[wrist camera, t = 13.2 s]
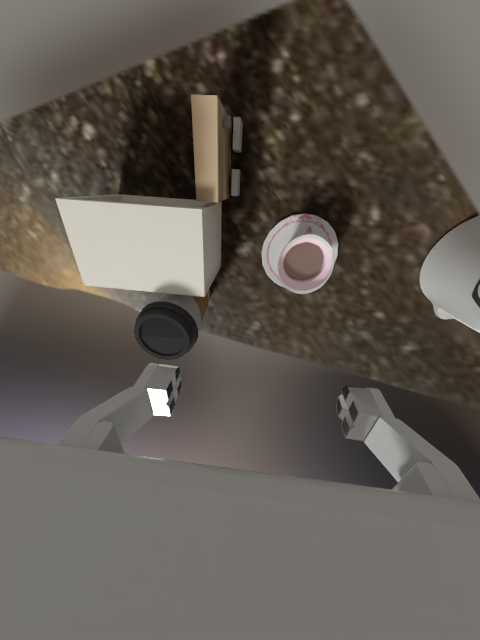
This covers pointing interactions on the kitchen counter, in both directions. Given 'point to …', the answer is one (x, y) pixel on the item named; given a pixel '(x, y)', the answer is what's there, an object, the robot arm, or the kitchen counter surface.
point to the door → (211, 148)
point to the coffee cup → (170, 324)
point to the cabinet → (148, 239)
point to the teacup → (300, 253)
